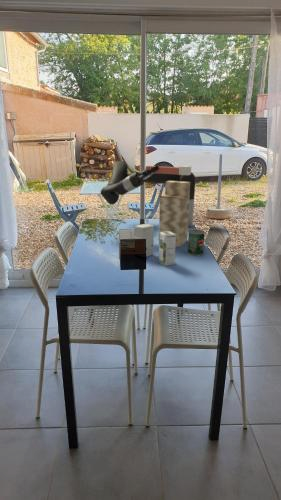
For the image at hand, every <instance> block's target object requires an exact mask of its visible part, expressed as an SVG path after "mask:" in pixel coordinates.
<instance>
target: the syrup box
mask: <svg viewBox="0 0 281 500" xmlns="http://www.w3.org/2000/svg"><path fill="white" fill-rule="evenodd" d="M175 243H176V234H174V233H172V232H171V231H165V232H160V243H159V242H158V245H159V246H158V247H159V249H158V250H159V251H158V263H160V265H162V266H163V267H165V266H172V265H175V257H176V246H175Z"/></svg>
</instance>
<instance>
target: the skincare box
mask: <svg viewBox="0 0 281 500" xmlns="http://www.w3.org/2000/svg"><path fill="white" fill-rule="evenodd" d="M154 231H155V225H152V224H149V223H148V224H147V223H143V224H142V223H141V224H138V225H134V226H133V237H134V236H136V237H139V238H142V239H146V247H147V250H146V254H147V256H146V257H148V256H152V255H154V236H155V235H154V234H155V233H154Z"/></svg>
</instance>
